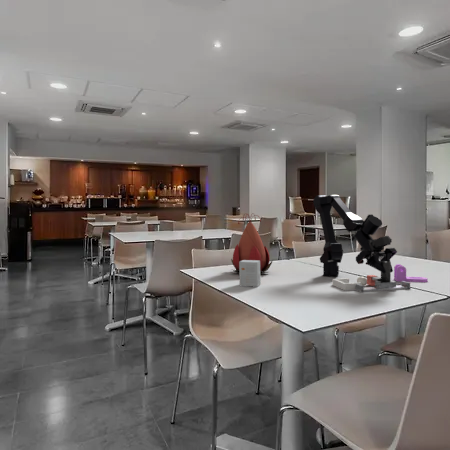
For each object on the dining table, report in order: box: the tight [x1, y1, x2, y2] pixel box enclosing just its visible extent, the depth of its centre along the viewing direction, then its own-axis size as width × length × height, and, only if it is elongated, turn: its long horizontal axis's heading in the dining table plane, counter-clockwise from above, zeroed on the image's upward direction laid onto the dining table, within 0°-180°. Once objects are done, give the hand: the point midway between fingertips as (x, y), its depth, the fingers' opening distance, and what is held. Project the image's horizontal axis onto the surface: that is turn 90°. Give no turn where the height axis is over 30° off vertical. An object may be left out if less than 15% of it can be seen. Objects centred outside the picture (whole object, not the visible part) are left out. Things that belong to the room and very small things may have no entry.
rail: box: [355, 281, 411, 293], centre depth 150 cm, size 22×4×2 cm, turn 102°
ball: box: [356, 276, 368, 287], centre depth 156 cm, size 4×4×4 cm
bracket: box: [393, 263, 428, 283], centre depth 166 cm, size 13×6×7 cm, turn 78°
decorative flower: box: [230, 213, 274, 274], centre depth 188 cm, size 22×23×30 cm
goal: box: [332, 277, 361, 291], centre depth 155 cm, size 7×10×2 cm
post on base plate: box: [366, 260, 397, 288], centre depth 153 cm, size 7×11×11 cm, turn 12°
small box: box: [238, 260, 262, 288], centre depth 160 cm, size 8×6×10 cm
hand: (388, 272), depth 148 cm, fingers closed on post on base plate, 4 cm apart
